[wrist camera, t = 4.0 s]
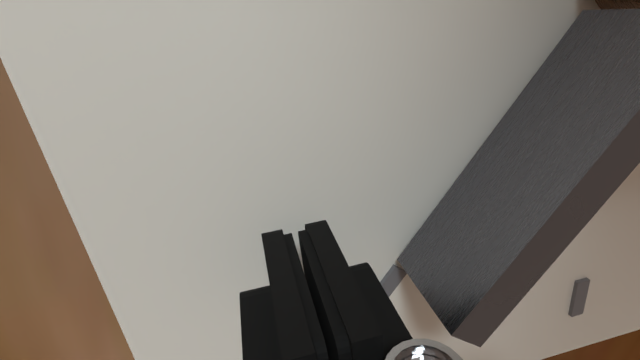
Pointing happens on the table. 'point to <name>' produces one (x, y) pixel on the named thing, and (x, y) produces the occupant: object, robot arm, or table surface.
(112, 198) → the dial board
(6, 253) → the table surface
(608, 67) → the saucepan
